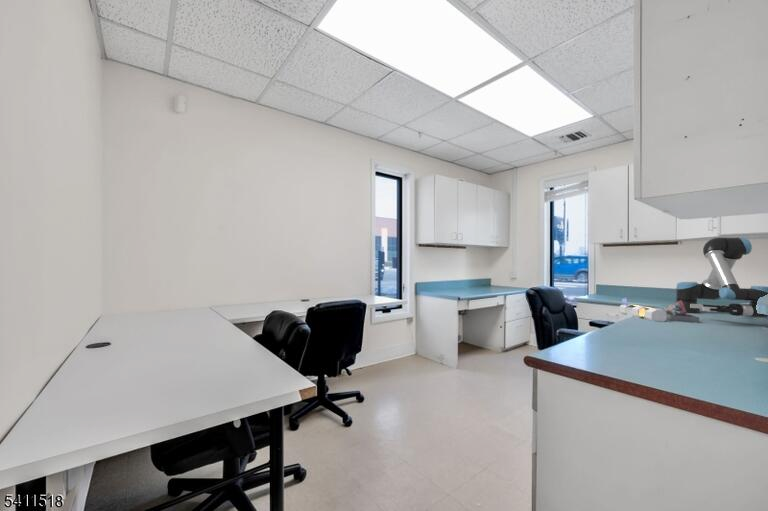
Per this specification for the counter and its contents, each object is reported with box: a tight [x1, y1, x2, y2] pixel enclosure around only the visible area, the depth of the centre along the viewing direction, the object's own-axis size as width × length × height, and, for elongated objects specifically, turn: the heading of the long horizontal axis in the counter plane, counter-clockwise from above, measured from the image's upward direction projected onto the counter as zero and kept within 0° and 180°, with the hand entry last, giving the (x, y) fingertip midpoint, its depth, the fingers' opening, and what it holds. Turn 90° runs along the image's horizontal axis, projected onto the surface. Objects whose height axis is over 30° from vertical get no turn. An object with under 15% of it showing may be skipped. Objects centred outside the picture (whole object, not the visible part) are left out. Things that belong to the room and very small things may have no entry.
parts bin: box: [666, 313, 700, 324], centre depth 205 cm, size 15×16×4 cm
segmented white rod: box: [619, 296, 667, 322], centre depth 210 cm, size 25×10×13 cm, turn 3°
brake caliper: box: [662, 300, 687, 316], centre depth 205 cm, size 11×11×12 cm
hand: (696, 307), depth 202 cm, fingers open, 13 cm apart
